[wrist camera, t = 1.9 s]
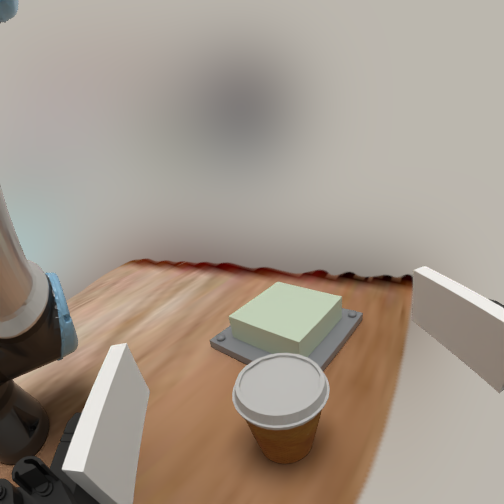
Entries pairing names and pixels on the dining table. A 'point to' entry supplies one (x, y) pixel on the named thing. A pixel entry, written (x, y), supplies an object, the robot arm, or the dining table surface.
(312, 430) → the disposable coffee cup
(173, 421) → the dining table surface
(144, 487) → the dining table surface
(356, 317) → the tower base
